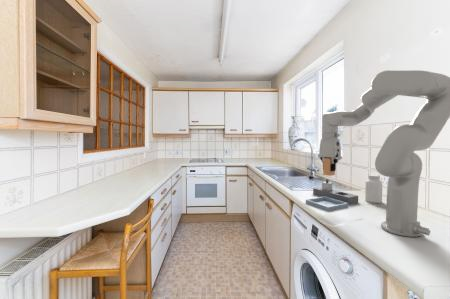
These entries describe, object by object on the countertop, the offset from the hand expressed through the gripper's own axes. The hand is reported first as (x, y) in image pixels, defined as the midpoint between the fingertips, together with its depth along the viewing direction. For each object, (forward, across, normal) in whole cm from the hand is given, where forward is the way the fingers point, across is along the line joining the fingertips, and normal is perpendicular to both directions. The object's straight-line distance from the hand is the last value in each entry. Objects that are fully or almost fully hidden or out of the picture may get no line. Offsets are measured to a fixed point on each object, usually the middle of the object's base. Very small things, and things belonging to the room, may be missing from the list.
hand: (329, 170), depth 117 cm
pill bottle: (+19, -7, -29) cm, 36 cm away
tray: (+19, 0, +2) cm, 19 cm away
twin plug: (+19, +11, -13) cm, 26 cm away
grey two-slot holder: (+19, +6, -13) cm, 24 cm away
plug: (+2, 0, 0) cm, 2 cm away
